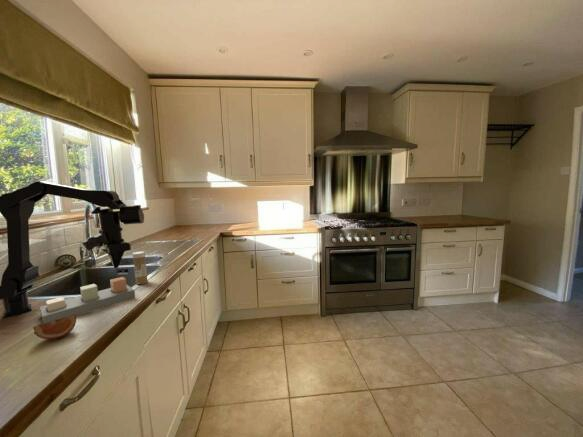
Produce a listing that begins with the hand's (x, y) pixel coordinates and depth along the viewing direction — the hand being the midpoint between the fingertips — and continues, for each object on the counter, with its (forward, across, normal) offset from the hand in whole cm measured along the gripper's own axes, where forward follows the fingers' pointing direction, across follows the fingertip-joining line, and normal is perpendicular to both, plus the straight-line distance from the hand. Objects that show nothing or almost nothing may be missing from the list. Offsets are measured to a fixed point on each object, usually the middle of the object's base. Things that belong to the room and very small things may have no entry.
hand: (116, 267), depth 91 cm
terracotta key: (+9, 0, 0) cm, 9 cm away
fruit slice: (+12, +16, -18) cm, 27 cm away
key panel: (+11, 0, -8) cm, 14 cm away
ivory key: (+11, 0, -17) cm, 20 cm away
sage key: (+9, 0, -8) cm, 12 cm away
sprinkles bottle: (+12, -10, +11) cm, 19 cm away
